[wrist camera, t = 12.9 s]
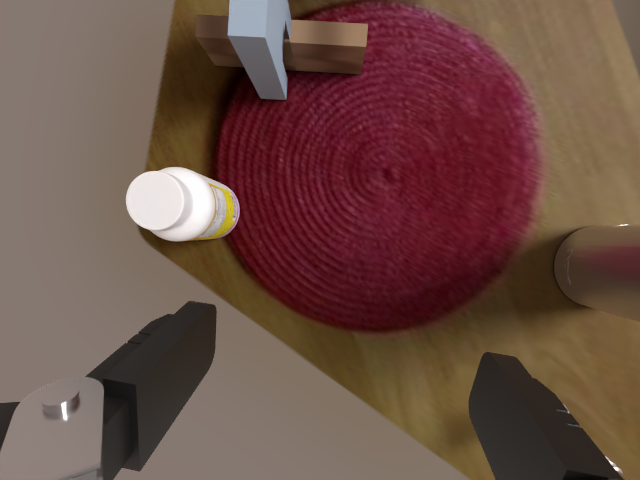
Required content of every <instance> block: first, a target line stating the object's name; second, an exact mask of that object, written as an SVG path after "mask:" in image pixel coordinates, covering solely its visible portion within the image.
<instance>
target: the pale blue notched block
mask: <svg viewBox="0 0 640 480" xmlns="http://www.w3.org/2000/svg"><path fill="white" fill-rule="evenodd" d="M291 22H292V21H291V15H290V10H289V5H288V0H230V6H229V21H228V37H229V39H230V41H231V43H232V45H233V47H234V49H235V51H236V53H237V54H238V56H239V58H240V60H241V62H242V64H243V66H244V68H245V70H246V72H247V74H248V75H249V77H250V79H251V81H252V83H253V85H254V87H255V89H256V91H257V93H258V95H259V97H260V98H261V99H277V100H286V96H287V81H288V79H287V75H286V72H285V68H284V64H283V61H282V60H283V46H284V39H289V40H290V35H291Z"/></svg>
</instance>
